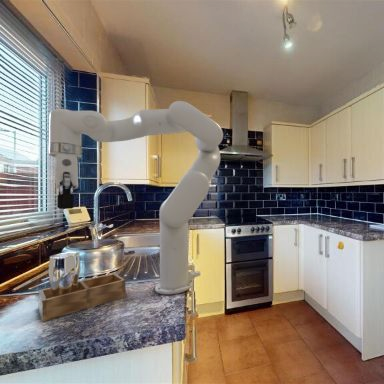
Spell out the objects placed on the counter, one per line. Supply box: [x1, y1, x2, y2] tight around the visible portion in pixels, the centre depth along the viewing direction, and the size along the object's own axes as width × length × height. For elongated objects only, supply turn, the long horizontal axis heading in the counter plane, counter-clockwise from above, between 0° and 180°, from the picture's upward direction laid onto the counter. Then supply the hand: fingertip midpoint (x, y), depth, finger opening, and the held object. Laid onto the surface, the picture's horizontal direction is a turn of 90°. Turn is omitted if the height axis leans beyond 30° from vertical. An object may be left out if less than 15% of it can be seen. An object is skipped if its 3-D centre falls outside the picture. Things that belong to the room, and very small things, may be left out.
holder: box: [38, 272, 126, 323], centre depth 70 cm, size 20×10×5 cm, turn 137°
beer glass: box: [48, 251, 81, 297], centre depth 66 cm, size 7×7×15 cm
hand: (65, 208), depth 69 cm, fingers open, 9 cm apart
